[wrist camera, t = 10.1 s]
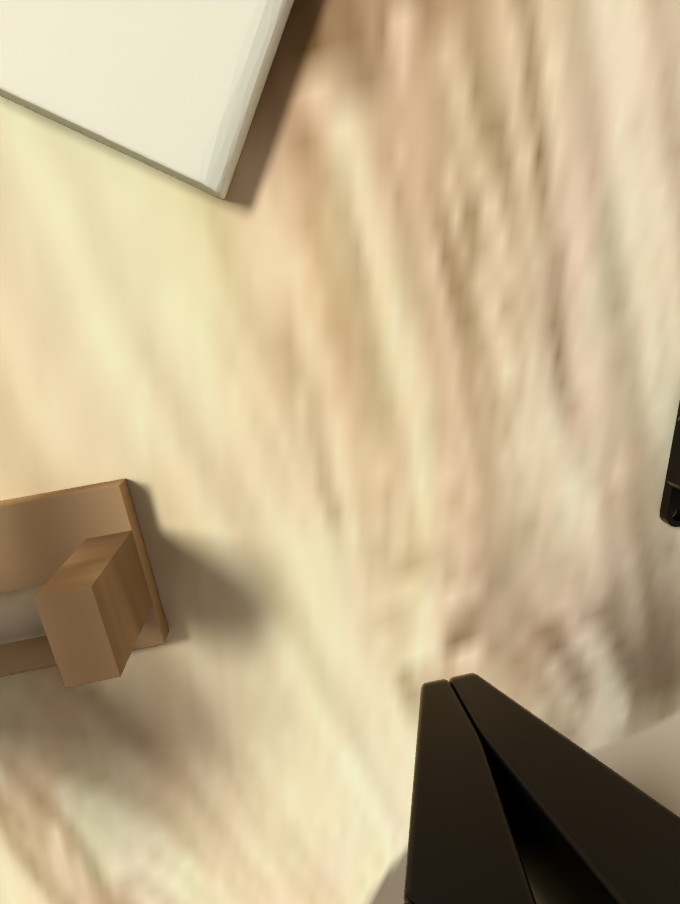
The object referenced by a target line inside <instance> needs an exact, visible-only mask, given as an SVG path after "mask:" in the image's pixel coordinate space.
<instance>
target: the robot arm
mask: <svg viewBox="0 0 680 904" xmlns="http://www.w3.org/2000/svg"><path fill="white" fill-rule="evenodd" d="M676 510H677V512H676V515H674V516H673V517H672V515H673V513H674V512H675V511H676ZM660 518H661V520H662V521H664V522H665V523H667V524H669V525H671V526H674V527H680V402H679V408H678V414H677V419H676V425H675V430H674V436H673V441H672V447H671V452H670V458H669V463H668V469H667V475H666V480H665V486H664V491H663V497H662V502H661V508H660ZM404 901H405V903H404V904H680V817H678V816H677V815H676V814H674V813H673V812H671V811H670V810H669V809H667V808H666V807H664V806H663V805H662V804H660V803H659V802H657V801H656V800H654V799H653V798H652V797H650V796H649V795H647V794H646V793H644V792H643V791H642V790H640V789H639V788H637V787H636V786H634V785H633V784H632V783H630V782H629V781H627V780H626V779H624V778H623V777H622V776H620V775H619V774H617V773H616V772H615V771H613V770H612V769H610V768H609V767H608V766H606V765H605V764H603V763H602V762H600V761H599V760H598V759H596V758H595V757H593V756H592V755H590V754H589V753H588V752H586V751H585V750H583V749H582V748H581V747H579V746H578V745H576V744H575V743H573V742H572V741H571V740H569V739H568V738H566V737H565V736H563V735H562V734H561V733H559V732H558V731H556V730H555V729H554V728H552V727H551V726H549V725H548V724H546V723H545V722H544V721H542V720H541V719H539V718H538V717H536V716H535V715H534V714H532V713H531V712H529V711H528V710H527V709H525V708H524V707H522V706H521V705H519V704H518V703H517V702H515V701H514V700H512V699H511V698H509V697H508V696H507V695H505V694H504V693H502V692H501V691H500V690H498V689H497V688H495V687H494V686H492V685H491V684H490V683H488V682H487V681H485V680H484V679H482V678H481V677H480V676H478V675H477V674H474V673H469V674H465V675H460V676H455V677H452V678H451V679H450V680H449V682H448V681H447V680H445V679H442V680H437V681H432V682H428V683H424V684H423V685H422V687H421V697H420V709H419V721H418V733H417V745H416V757H415V769H414V781H413V793H412V805H411V817H410V829H409V841H408V853H407V865H406V877H405V890H404Z"/></svg>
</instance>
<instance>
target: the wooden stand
mask: <svg viewBox="0 0 680 904" xmlns="http://www.w3.org/2000/svg"><path fill="white" fill-rule="evenodd" d="M168 632H169V630H168V626H167V623H166V619H165V616H164V612H163V609H162V605H161V602H160V598H159V595H158V591H157V588H156V584H155V581H154V577H153V573H152V570H151V566H150V563H149V559H148V556H147V552H146V549H145V545H144V542H143V538H142V535H141V531H140V528H139V524H138V521H137V517H136V513H135V510H134V506H133V503H132V499H131V496H130V492H129V489H128V485H127V482H126V479H120V480H115V481H109V482H104V483H98V484H93V485H87V486H82V487H76V488H71V489H65V490H60V491H54V492H49V493H43V494H37V495H32V496H26V497H21V498H15V499H10V500H4V501H0V677H2V676H7V675H12V674H16V673H21V672H26V671H31V670H36V669H41V668H46V667H51V666H56V665H57V666H58V669H59V672H60V675H61V677H62V680H63V683H64V686H65V688H67V687H71V686H76V685H81V684H86V683H91V682H96V681H101V680H106V679H110V678H115V677H120V676H121V674H122V672H123V669H124V667H125V665H126V663H127V661H128V658H129V656H130V654H131V652H132V650H135V649H140V648H145V647H150V646H155V645H160V644H164V643H165V641H166V638H167V635H168Z"/></svg>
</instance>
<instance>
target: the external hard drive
mask: <svg viewBox="0 0 680 904" xmlns="http://www.w3.org/2000/svg"><path fill="white" fill-rule="evenodd" d="M293 3H294V0H0V95H1V96H3V97H5V98H7V99H9V100H11V101H14V102H16V103H18V104H20V105H22V106H24V107H26V108H29V109H31V110H33V111H35V112H37V113H39V114H41V115H43V116H46V117H48V118H50V119H52V120H54V121H56V122H58V123H60V124H63V125H65V126H67V127H69V128H71V129H73V130H75V131H78V132H80V133H82V134H84V135H86V136H88V137H90V138H92V139H95V140H97V141H99V142H101V143H103V144H105V145H107V146H110V147H112V148H114V149H116V150H118V151H120V152H122V153H124V154H126V155H129V156H131V157H133V158H135V159H137V160H139V161H141V162H144V163H146V164H148V165H150V166H152V167H154V168H156V169H158V170H161V171H163V172H165V173H167V174H169V175H171V176H173V177H175V178H177V179H180V180H182V181H184V182H186V183H188V184H190V185H192V186H194V187H197V188H199V189H201V190H203V191H205V192H207V193H209V194H211V195H213V196H215V197H218V198H220V199H225V197H226V195H227V192H228V189H229V186H230V184H231V180H232V178H233V175H234V172H235V169H236V166H237V163H238V160H239V157H240V155H241V152H242V149H243V146H244V144H245V141H246V138H247V135H248V132H249V129H250V126H251V123H252V120H253V117H254V114H255V111H256V108H257V106H258V103H259V100H260V97H261V94H262V91H263V88H264V85H265V83H266V80H267V77H268V74H269V71H270V68H271V65H272V63H273V60H274V57H275V54H276V51H277V48H278V45H279V42H280V39H281V37H282V34H283V31H284V28H285V25H286V22H287V20H288V17H289V14H290V11H291V8H292V6H293Z"/></svg>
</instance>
